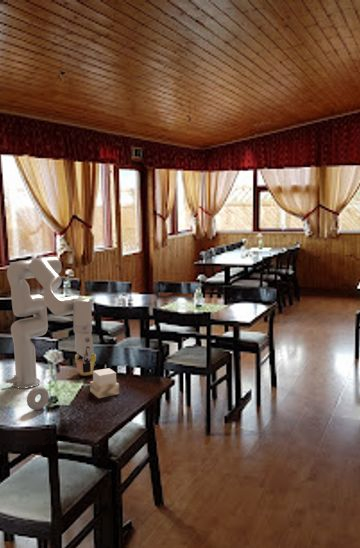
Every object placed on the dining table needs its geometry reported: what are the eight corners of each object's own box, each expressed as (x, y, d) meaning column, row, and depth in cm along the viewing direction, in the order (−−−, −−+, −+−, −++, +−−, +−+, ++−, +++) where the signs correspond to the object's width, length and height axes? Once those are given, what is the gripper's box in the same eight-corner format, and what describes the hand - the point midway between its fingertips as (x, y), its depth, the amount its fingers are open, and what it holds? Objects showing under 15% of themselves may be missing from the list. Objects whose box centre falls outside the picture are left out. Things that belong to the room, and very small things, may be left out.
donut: (29, 414, 226) (28, 390, 225) (25, 411, 229) (24, 388, 227) (51, 407, 233) (50, 384, 232) (46, 405, 236) (45, 382, 234)
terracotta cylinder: (79, 374, 227) (79, 363, 226) (74, 370, 232) (74, 360, 232) (93, 371, 230) (93, 361, 229) (88, 367, 235) (87, 357, 235)
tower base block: (98, 398, 243) (98, 388, 243) (90, 392, 252) (89, 381, 251) (119, 394, 248) (119, 383, 248) (110, 388, 257) (110, 377, 256)
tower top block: (99, 386, 245) (99, 375, 244) (93, 381, 251) (92, 370, 251) (116, 383, 249) (116, 372, 248) (109, 378, 255) (109, 368, 255)
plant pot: (75, 371, 281) (74, 352, 280) (96, 369, 283) (95, 351, 282) (75, 377, 271) (75, 358, 270) (96, 376, 273) (96, 357, 272)
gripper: (99, 331, 223) (100, 374, 226) (84, 322, 238) (85, 363, 240) (81, 334, 219) (82, 377, 222) (67, 325, 234) (68, 365, 237)
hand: (84, 369), depth 231 cm, fingers closed on terracotta cylinder, 6 cm apart
